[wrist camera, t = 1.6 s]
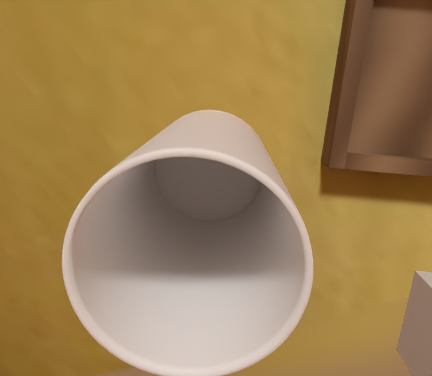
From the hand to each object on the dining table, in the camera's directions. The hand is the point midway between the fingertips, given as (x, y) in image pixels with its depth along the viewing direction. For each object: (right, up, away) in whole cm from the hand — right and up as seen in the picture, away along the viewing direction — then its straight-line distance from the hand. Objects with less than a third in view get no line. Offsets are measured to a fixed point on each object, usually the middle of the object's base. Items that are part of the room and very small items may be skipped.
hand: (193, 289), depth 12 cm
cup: (0, +5, +16) cm, 17 cm away
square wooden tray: (+15, +10, +14) cm, 23 cm away
